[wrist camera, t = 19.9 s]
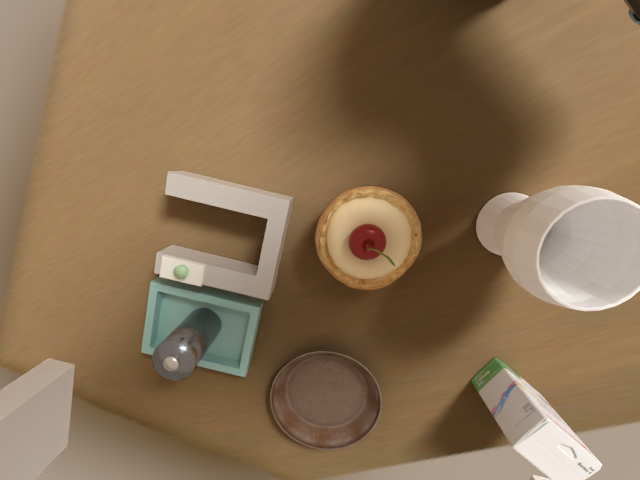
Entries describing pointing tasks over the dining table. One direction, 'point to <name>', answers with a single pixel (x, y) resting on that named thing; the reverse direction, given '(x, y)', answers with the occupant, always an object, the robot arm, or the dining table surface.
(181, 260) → the white hook bar
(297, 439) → the saucer
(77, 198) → the dining table surface
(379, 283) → the pastry
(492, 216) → the cup
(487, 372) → the ink box
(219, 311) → the trough
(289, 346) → the dining table surface
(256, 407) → the dining table surface
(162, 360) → the cell
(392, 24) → the dining table surface
